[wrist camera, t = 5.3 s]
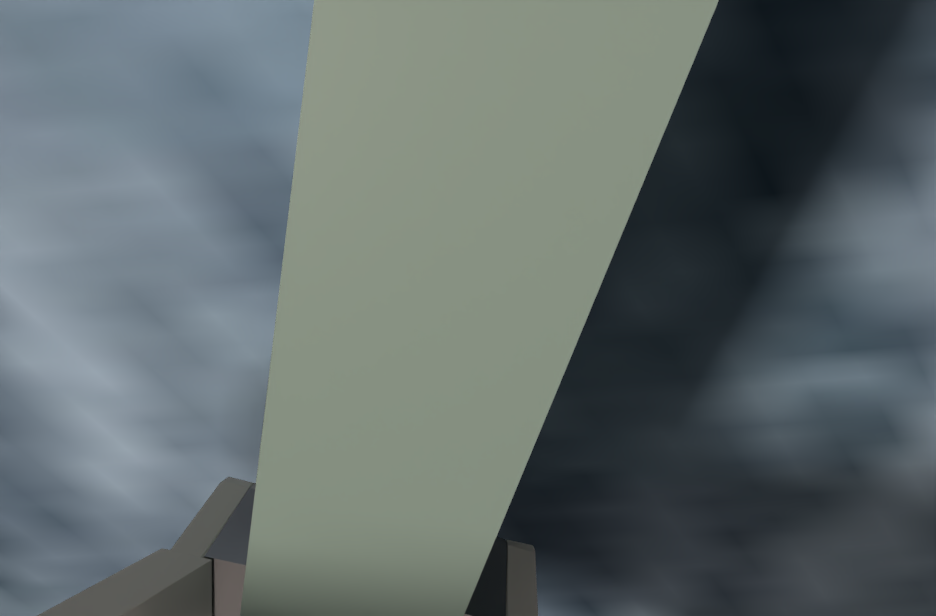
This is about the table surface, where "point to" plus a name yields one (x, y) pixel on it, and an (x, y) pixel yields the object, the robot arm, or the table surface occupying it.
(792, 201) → the table surface
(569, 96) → the sage green l-bracket
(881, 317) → the table surface
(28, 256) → the table surface
